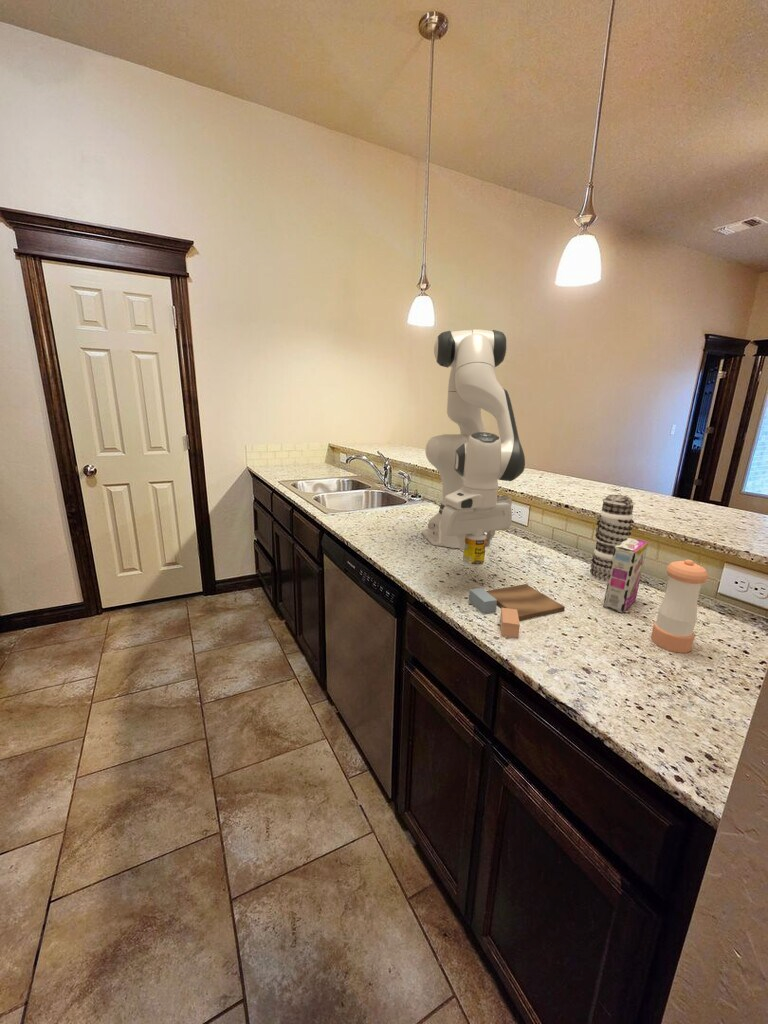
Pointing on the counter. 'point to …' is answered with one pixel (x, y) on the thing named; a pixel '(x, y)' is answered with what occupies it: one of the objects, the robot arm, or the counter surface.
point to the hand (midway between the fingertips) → (474, 547)
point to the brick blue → (482, 601)
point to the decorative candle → (610, 534)
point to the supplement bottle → (475, 548)
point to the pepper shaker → (679, 607)
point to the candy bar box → (625, 574)
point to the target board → (525, 601)
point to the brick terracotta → (509, 622)
